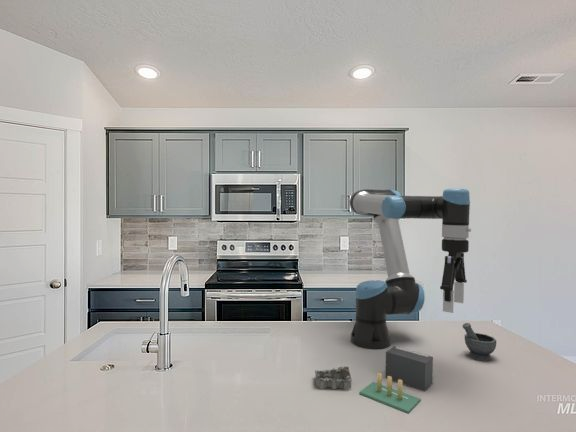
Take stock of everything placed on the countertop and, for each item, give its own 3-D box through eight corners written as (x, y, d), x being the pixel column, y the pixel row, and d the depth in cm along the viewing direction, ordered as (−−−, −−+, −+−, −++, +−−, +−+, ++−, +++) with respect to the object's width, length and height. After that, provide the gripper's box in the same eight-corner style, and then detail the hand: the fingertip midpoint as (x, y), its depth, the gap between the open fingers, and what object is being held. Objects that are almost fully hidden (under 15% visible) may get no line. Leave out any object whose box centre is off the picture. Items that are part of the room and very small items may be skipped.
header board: (359, 393, 97) (359, 373, 97) (373, 383, 103) (373, 364, 103) (408, 413, 88) (408, 391, 88) (420, 400, 94) (420, 380, 94)
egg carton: (349, 379, 107) (350, 366, 107) (352, 392, 99) (352, 377, 99) (314, 377, 107) (315, 364, 107) (314, 389, 100) (314, 375, 100)
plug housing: (385, 377, 107) (385, 351, 107) (394, 371, 112) (394, 345, 112) (425, 391, 99) (425, 362, 99) (432, 383, 104) (432, 356, 104)
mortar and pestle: (485, 351, 129) (485, 318, 128) (502, 362, 119) (502, 327, 119) (455, 351, 128) (455, 319, 128) (470, 362, 119) (470, 327, 119)
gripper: (459, 242, 96) (457, 319, 97) (476, 237, 116) (474, 300, 116) (430, 240, 101) (429, 313, 101) (452, 235, 120) (450, 297, 121)
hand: (453, 307), depth 109 cm, fingers open, 13 cm apart
